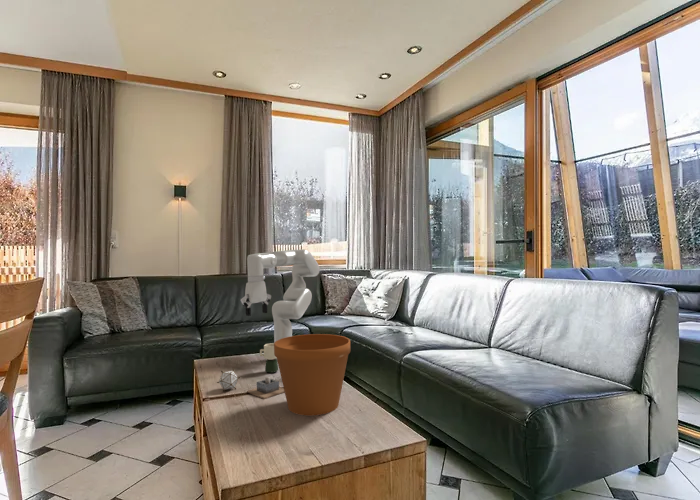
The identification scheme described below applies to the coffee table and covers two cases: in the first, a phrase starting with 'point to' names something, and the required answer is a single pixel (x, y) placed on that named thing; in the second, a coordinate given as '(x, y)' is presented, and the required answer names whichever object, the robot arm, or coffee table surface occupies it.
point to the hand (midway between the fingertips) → (256, 314)
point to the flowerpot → (312, 371)
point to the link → (267, 386)
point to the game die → (228, 380)
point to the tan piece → (263, 395)
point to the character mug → (269, 358)
